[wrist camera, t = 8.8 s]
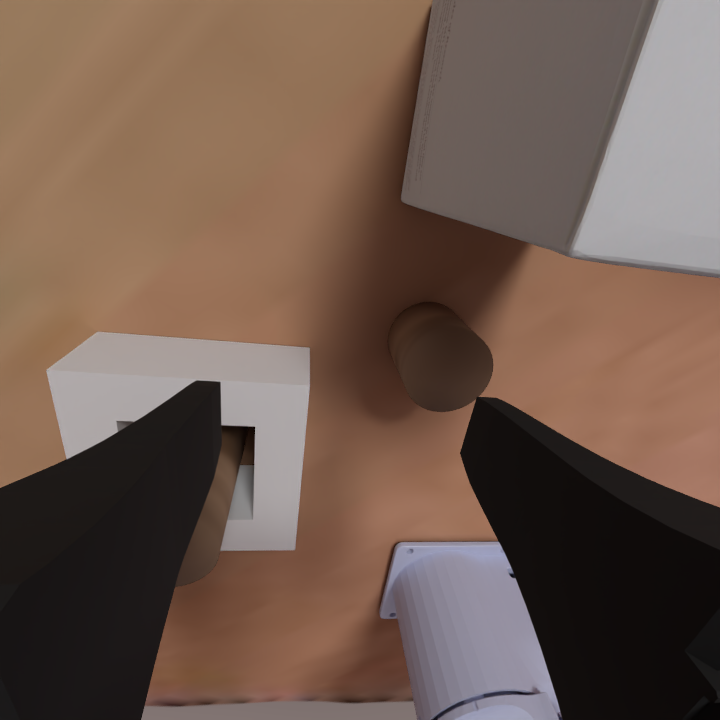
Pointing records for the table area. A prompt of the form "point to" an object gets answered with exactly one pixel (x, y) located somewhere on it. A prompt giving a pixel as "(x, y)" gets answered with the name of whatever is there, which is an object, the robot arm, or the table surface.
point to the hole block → (238, 408)
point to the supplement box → (575, 127)
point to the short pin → (439, 357)
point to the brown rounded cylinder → (214, 509)
